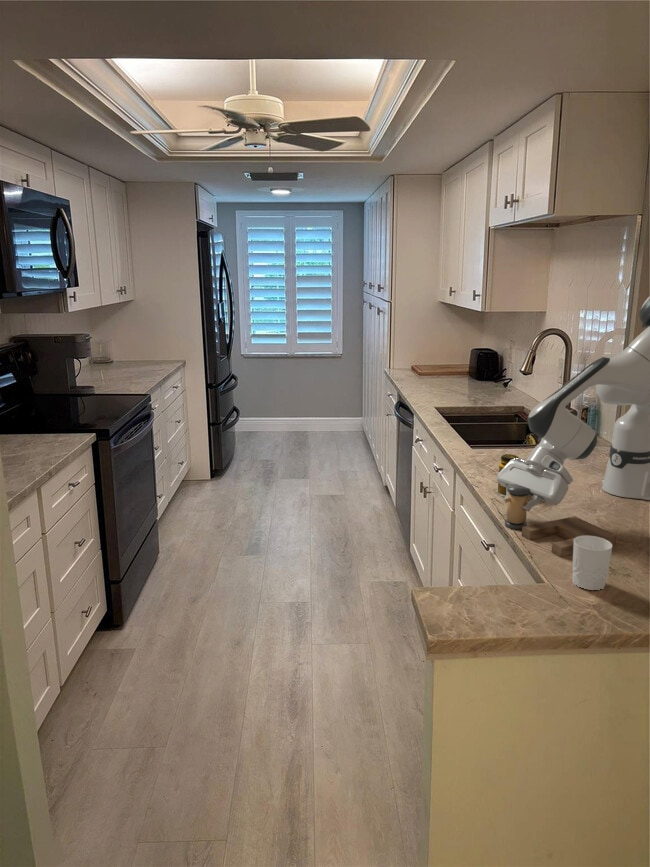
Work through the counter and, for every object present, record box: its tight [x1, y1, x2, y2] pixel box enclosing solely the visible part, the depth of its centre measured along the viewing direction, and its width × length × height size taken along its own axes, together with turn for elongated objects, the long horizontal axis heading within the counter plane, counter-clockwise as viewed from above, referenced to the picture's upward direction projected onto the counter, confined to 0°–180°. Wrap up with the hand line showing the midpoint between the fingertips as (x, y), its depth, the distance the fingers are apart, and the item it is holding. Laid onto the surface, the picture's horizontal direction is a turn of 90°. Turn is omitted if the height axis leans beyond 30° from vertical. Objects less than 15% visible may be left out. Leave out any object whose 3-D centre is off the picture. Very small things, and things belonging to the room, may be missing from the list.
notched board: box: [521, 515, 617, 558], centre depth 162 cm, size 18×14×2 cm
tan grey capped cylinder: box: [504, 484, 530, 531], centre depth 170 cm, size 7×6×11 cm
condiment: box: [493, 453, 519, 497], centre depth 196 cm, size 7×8×12 cm
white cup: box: [571, 536, 614, 591], centre depth 138 cm, size 8×8×10 cm
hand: (515, 505), depth 170 cm, fingers closed on tan grey capped cylinder, 5 cm apart
